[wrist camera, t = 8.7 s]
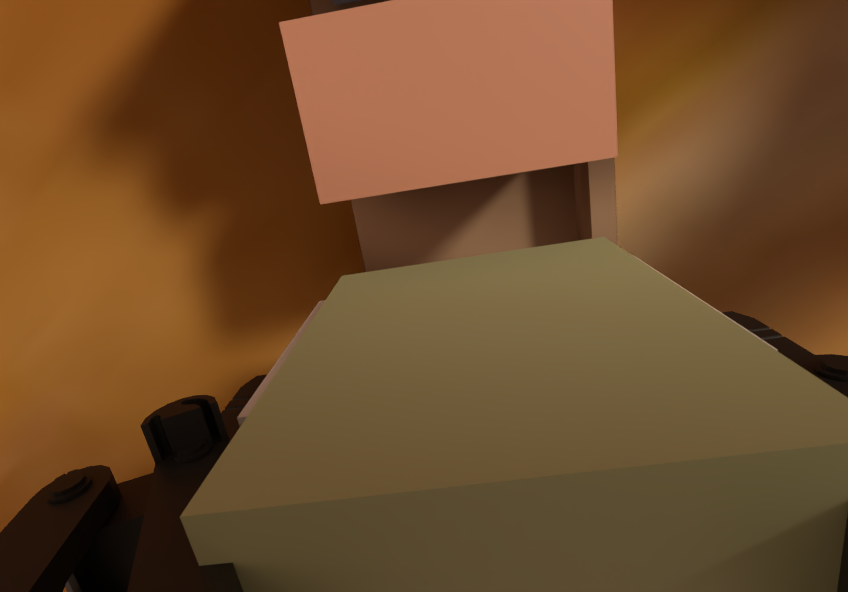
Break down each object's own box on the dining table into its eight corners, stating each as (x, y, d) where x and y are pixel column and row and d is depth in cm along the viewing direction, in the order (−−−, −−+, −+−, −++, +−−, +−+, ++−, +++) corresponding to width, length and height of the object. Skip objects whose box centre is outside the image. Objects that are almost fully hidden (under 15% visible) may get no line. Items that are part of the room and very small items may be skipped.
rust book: (345, 65, 21) (276, 22, 12) (539, 30, 20) (611, -43, 11) (366, 174, 22) (318, 204, 14) (548, 144, 21) (617, 156, 13)
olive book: (340, 275, 15) (175, 517, 6) (604, 236, 15) (906, 436, 5) (365, 389, 16) (265, 740, 7) (610, 357, 16) (861, 698, 6)
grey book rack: (286, -151, 20) (17, -625, 7) (566, -215, 19) (809, -886, 6) (397, 398, 27) (359, 619, 15) (598, 373, 26) (733, 587, 14)
